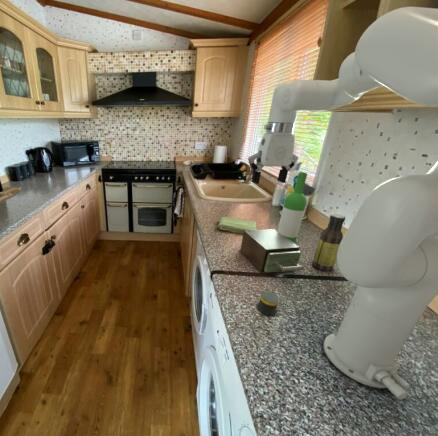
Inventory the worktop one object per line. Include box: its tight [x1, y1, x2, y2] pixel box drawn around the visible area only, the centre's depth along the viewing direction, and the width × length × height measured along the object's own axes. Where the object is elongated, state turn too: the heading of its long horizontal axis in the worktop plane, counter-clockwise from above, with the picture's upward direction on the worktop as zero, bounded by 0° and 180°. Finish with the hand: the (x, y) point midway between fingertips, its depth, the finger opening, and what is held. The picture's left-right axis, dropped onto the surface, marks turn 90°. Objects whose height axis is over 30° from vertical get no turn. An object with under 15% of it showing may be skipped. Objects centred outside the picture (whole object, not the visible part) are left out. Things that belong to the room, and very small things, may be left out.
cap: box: [257, 291, 280, 316], centre depth 67 cm, size 4×4×4 cm
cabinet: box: [240, 228, 300, 273], centre depth 90 cm, size 15×13×9 cm
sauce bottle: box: [312, 213, 346, 271], centre depth 84 cm, size 6×6×20 cm
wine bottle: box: [276, 171, 308, 244], centre depth 101 cm, size 8×8×30 cm
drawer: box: [264, 249, 305, 274], centre depth 86 cm, size 18×11×7 cm, turn 9°
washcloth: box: [217, 216, 258, 235], centre depth 117 cm, size 13×18×3 cm
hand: (268, 182), depth 82 cm, fingers open, 9 cm apart
